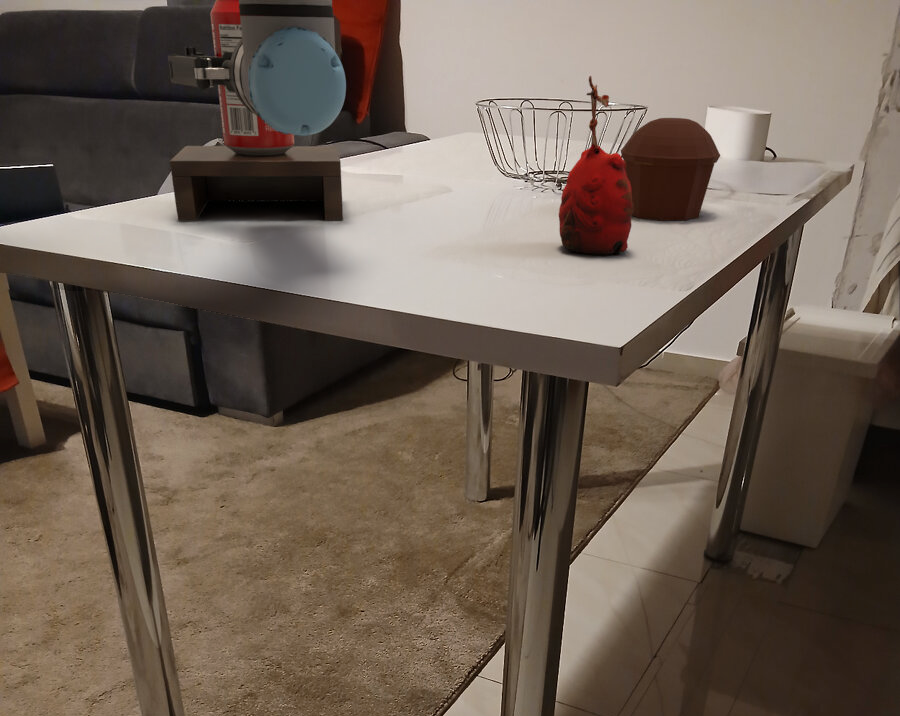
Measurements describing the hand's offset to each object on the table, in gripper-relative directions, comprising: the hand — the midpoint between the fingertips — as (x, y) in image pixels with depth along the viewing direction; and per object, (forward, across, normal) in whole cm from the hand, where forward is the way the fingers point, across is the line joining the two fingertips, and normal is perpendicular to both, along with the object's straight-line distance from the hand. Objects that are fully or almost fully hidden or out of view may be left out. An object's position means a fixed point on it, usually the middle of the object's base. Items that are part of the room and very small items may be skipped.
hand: (247, 66), depth 101 cm
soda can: (-4, 0, -8) cm, 9 cm away
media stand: (-4, 0, -14) cm, 15 cm away
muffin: (-16, +46, -14) cm, 51 cm away
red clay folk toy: (-34, +28, -14) cm, 46 cm away
